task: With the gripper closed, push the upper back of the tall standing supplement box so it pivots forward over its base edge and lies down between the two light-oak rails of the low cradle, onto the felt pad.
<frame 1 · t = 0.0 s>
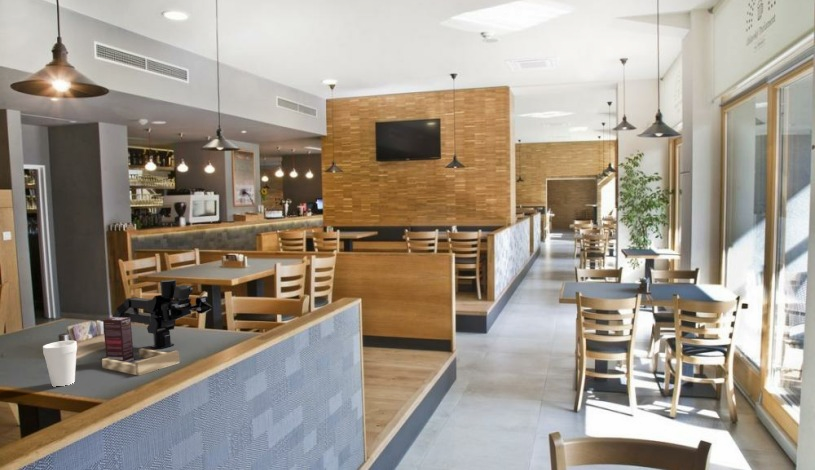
hand: (201, 309, 214), 17 cm above the table, tool horizontal, fingers open, 9 cm apart
cradle: (139, 365, 203), on the table
foam cup: (63, 384, 185), on the table
felt pad: (141, 365, 202), resting in cradle
supplement box: (120, 361, 209), on the table
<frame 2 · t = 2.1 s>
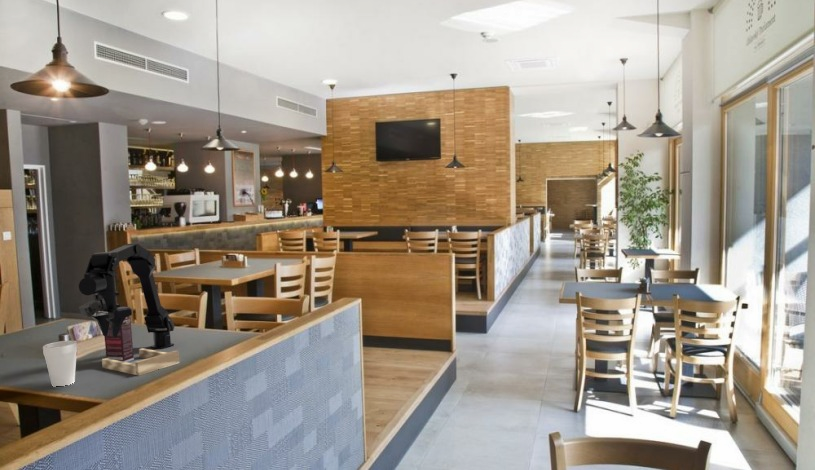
hand: (110, 336, 192), 13 cm above the table, tool pointing down, fingers open, 5 cm apart
nothing on the table moved.
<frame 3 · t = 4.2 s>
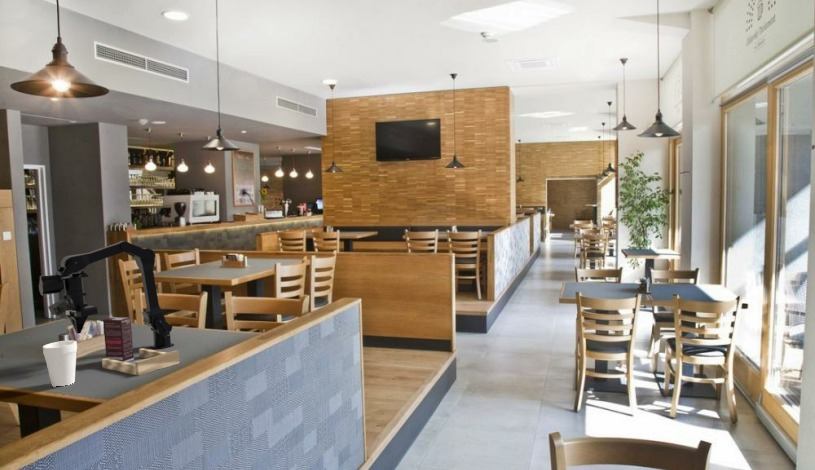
hand: (78, 333, 207), 11 cm above the table, tool pointing down, fingers closed
nothing on the table moved.
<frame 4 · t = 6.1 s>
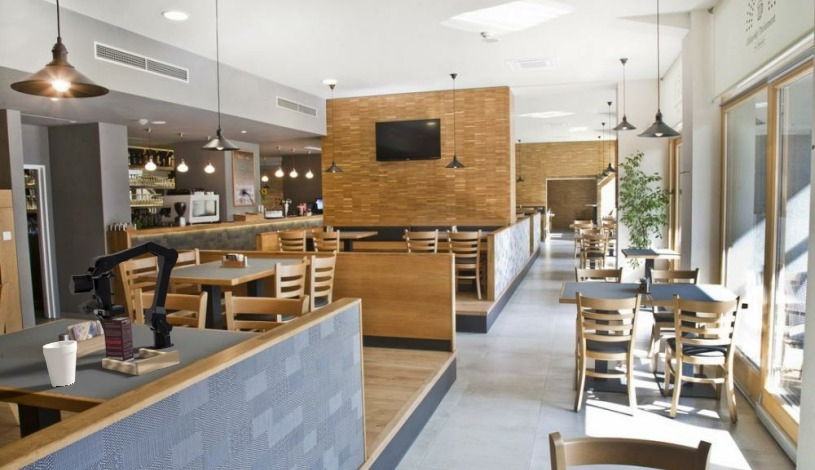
hand: (106, 332, 213), 10 cm above the table, tool pointing down, fingers closed
supplement box: (120, 361, 209), on the table, touching gripper
everything else where it was.
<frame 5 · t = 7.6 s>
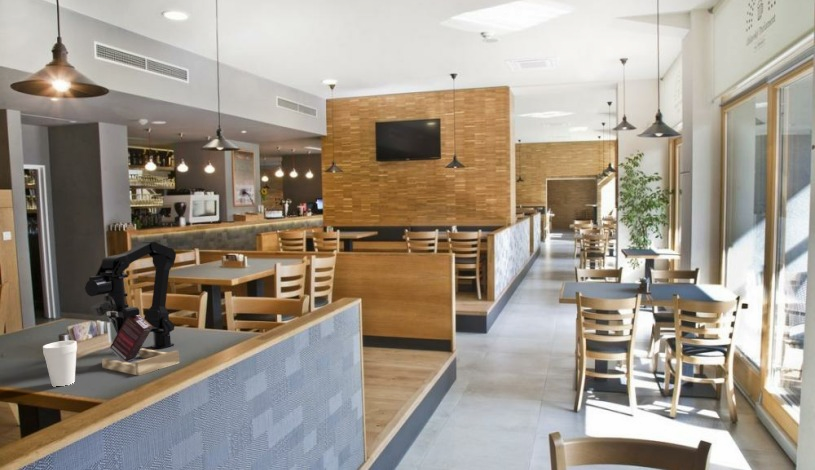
hand: (119, 334, 208), 10 cm above the table, tool pointing down, fingers closed
supplement box: (121, 354, 209), point 2 cm above the table
everything else where it was.
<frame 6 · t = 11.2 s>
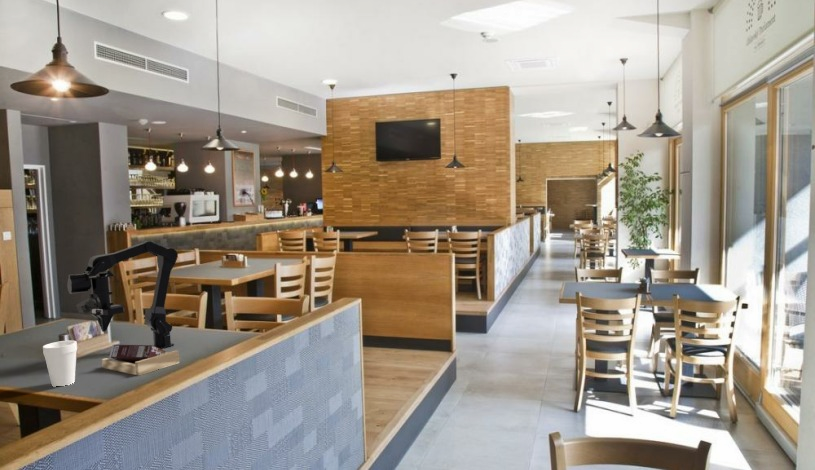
hand: (104, 331, 213), 10 cm above the table, tool pointing down, fingers closed
supplement box: (117, 353, 203), point 4 cm above the table, touching cradle, felt pad
everything else where it was.
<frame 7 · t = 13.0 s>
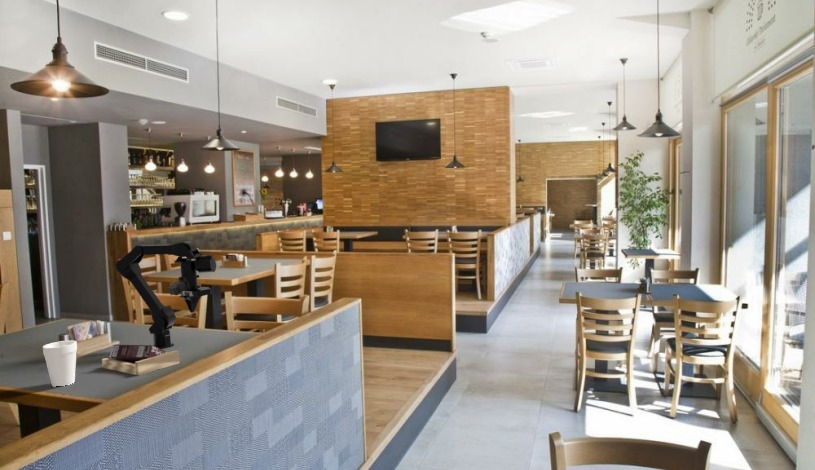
hand: (192, 312, 227), 13 cm above the table, tool pointing down, fingers closed
nothing on the table moved.
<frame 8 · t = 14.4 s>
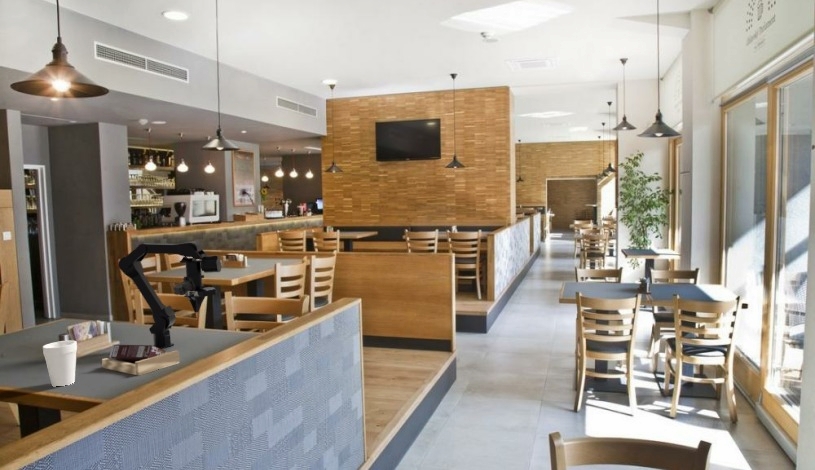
hand: (196, 312, 228), 13 cm above the table, tool pointing down, fingers closed
nothing on the table moved.
at the end: supplement box tilted 90°; supplement box inside the target area (8.6 cm from its centre), point 4.4 cm above the table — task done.
